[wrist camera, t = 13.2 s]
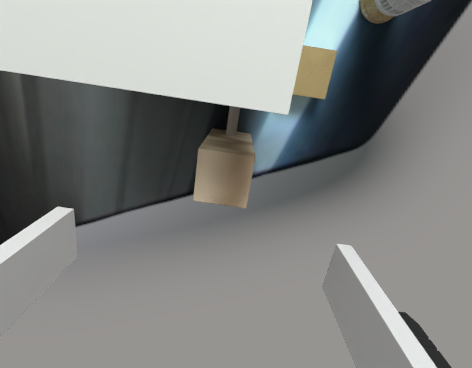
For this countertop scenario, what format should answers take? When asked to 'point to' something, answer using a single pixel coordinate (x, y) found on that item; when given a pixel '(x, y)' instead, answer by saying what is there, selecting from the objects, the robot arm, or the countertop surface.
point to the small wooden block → (314, 72)
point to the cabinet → (162, 46)
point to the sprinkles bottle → (387, 8)
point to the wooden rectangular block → (225, 165)
